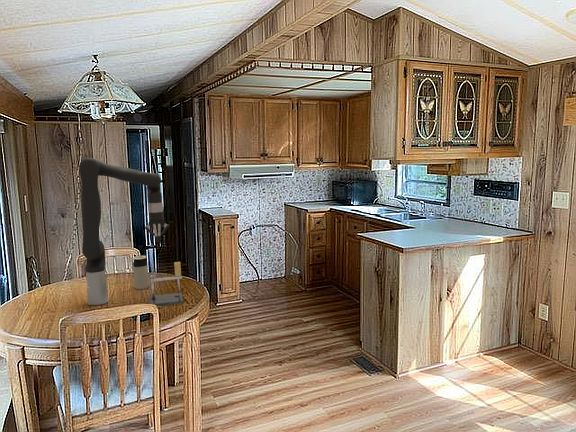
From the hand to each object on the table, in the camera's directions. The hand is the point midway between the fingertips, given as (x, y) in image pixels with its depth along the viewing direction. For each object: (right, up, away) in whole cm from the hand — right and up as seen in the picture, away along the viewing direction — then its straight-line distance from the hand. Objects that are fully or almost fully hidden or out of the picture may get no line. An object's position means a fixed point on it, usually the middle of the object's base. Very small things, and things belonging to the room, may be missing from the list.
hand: (158, 242), depth 240 cm
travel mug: (-15, -27, +18) cm, 36 cm away
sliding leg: (+13, -28, -5) cm, 31 cm away
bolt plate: (+6, -30, -7) cm, 31 cm away
